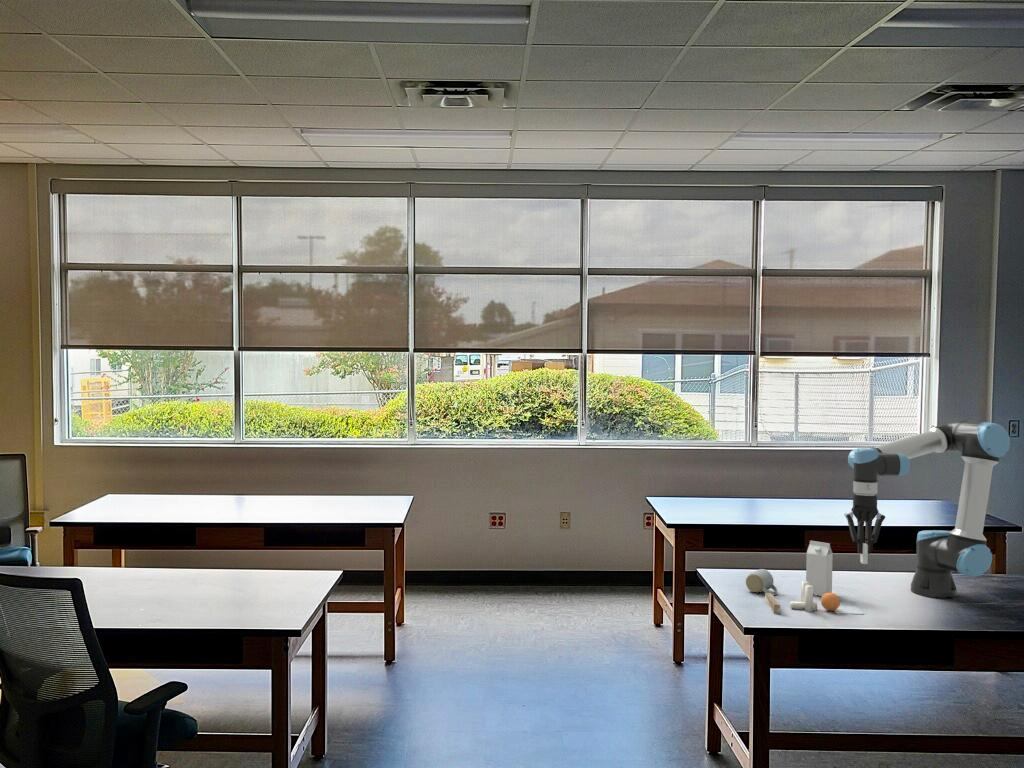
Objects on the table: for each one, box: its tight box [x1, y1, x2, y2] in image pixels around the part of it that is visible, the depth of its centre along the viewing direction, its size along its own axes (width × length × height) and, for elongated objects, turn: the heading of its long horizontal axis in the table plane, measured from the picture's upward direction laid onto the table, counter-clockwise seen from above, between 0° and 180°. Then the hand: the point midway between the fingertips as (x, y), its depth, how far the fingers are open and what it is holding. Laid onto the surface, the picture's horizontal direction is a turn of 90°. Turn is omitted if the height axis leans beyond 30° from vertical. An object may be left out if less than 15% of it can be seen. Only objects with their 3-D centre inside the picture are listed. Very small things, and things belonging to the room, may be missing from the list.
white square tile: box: [833, 605, 864, 615], centre depth 270 cm, size 9×8×1 cm
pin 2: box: [804, 585, 814, 613], centre depth 269 cm, size 2×2×8 cm
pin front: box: [789, 601, 818, 610], centre depth 271 cm, size 2×2×8 cm
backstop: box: [764, 592, 781, 615], centre depth 272 cm, size 2×14×3 cm, turn 174°
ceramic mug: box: [745, 568, 778, 596], centre depth 291 cm, size 11×8×8 cm
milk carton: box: [805, 540, 834, 597], centre depth 290 cm, size 7×7×19 cm
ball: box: [820, 592, 841, 612], centre depth 270 cm, size 6×6×6 cm
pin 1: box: [800, 580, 809, 602], centre depth 274 cm, size 2×2×8 cm
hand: (863, 563), depth 269 cm, fingers closed
